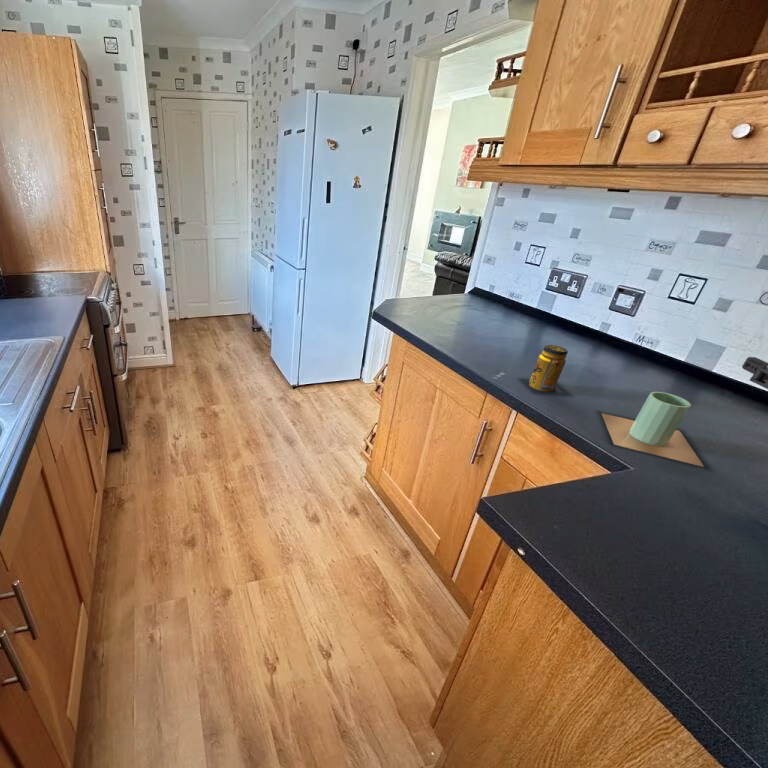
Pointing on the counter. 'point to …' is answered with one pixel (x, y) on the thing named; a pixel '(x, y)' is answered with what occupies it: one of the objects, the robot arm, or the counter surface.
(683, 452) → the mat
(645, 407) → the cup
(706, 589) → the counter surface
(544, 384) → the condiment
